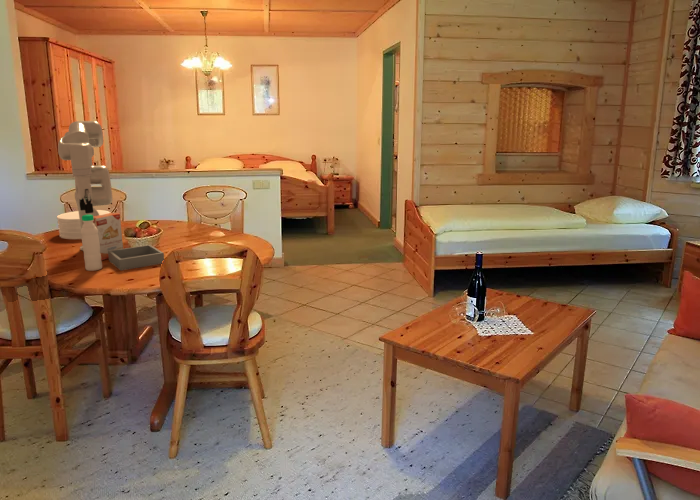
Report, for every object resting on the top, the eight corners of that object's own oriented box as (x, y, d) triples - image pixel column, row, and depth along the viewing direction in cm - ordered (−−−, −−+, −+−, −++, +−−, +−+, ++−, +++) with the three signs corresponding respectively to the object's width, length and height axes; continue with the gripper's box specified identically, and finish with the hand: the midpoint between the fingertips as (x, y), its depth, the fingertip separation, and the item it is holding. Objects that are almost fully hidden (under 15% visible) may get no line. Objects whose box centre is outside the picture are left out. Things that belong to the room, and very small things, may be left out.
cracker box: (101, 261, 273) (96, 218, 268) (92, 259, 276) (87, 217, 271) (124, 254, 285) (120, 213, 280) (116, 252, 288) (111, 212, 283)
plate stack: (49, 235, 328) (46, 215, 325) (94, 226, 350) (92, 208, 347) (77, 241, 313) (75, 221, 310) (122, 232, 335) (120, 212, 332)
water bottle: (88, 267, 263) (82, 213, 257) (104, 266, 264) (98, 213, 258) (83, 271, 257) (76, 216, 250) (99, 271, 257) (92, 216, 251)
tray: (109, 261, 273) (107, 250, 272) (151, 254, 285) (150, 244, 283) (120, 270, 258) (119, 259, 256) (164, 263, 269) (163, 252, 268)
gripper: (68, 171, 254) (73, 209, 258) (77, 175, 240) (82, 215, 244) (86, 170, 258) (91, 208, 262) (96, 173, 244) (100, 213, 248)
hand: (86, 211), depth 253 cm, fingers open, 9 cm apart
